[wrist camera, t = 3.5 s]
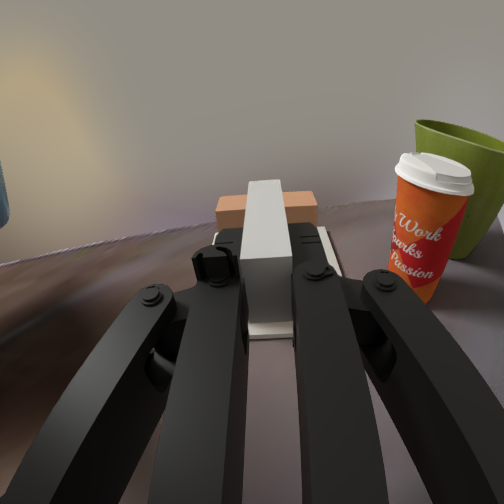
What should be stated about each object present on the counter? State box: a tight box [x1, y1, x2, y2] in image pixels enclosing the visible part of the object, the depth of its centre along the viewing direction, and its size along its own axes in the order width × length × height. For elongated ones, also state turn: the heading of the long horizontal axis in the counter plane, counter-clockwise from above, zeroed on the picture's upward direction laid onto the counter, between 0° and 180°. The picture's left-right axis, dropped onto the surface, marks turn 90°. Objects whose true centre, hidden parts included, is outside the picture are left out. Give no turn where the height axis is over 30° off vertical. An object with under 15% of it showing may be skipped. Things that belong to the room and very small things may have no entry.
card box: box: [215, 191, 318, 321], centre depth 23 cm, size 7×3×11 cm, turn 88°
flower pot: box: [415, 119, 504, 259], centre depth 29 cm, size 15×15×16 cm
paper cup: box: [388, 152, 474, 304], centre depth 23 cm, size 8×8×14 cm
